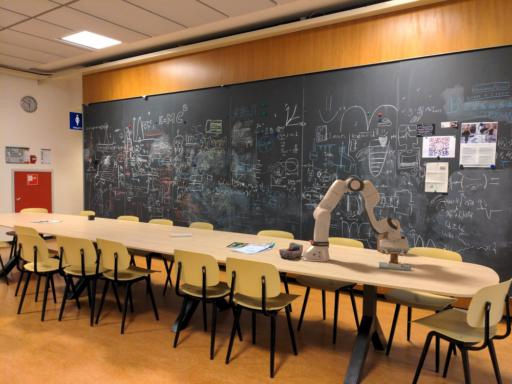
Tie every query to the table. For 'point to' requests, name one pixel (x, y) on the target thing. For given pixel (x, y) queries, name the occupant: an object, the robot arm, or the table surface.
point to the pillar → (394, 257)
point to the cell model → (291, 251)
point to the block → (383, 235)
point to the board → (394, 266)
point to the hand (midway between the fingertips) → (394, 254)
